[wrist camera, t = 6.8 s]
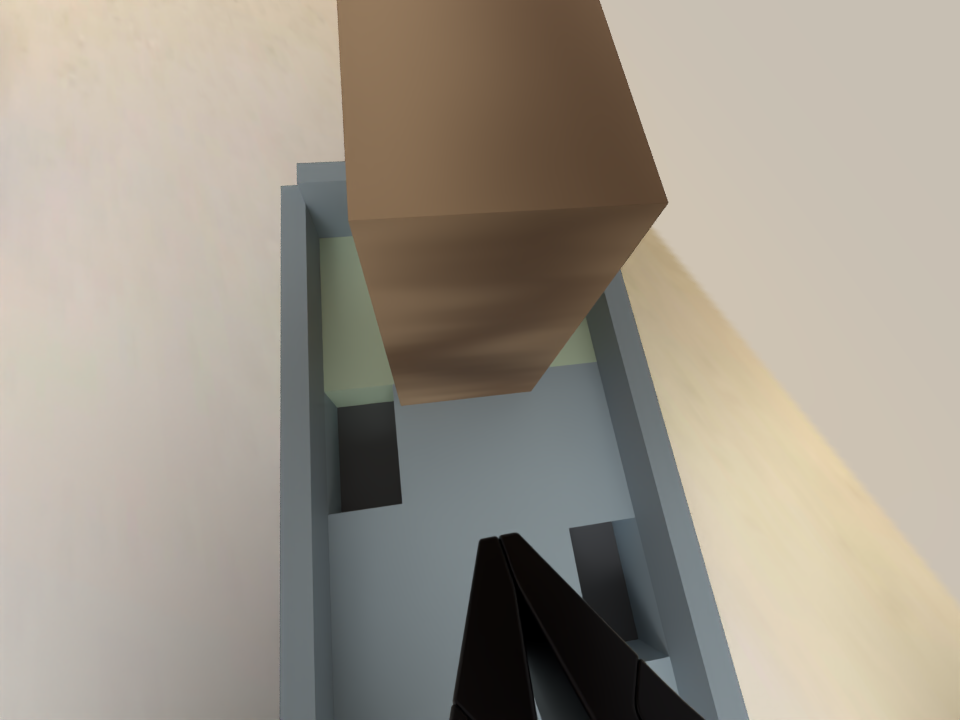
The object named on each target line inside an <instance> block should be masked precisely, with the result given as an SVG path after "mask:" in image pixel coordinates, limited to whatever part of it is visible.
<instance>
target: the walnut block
mask: <svg viewBox="0 0 960 720" xmlns="http://www.w3.org/2000/svg"><path fill="white" fill-rule="evenodd" d="M337 11H338V31H339V50H340V70H341V89H342V109H343V128H344V148H345V167H346V186H347V206H348V221H349V225H350V228H351V232H352V236H353V239H354V243H355V246H356V250H357V253H358V257H359V260H360V264H361V267H362V271H363V274H364V278H365V281H366V285H367V288H368V292H369V295H370V299H371V302H372V306H373V309H374V313H375V317H376V320H377V324H378V327H379V331H380V334H381V338H382V341H383V345H384V348H385V352H386V355H387V359H388V362H389V366H390V369H391V373H392V376H393V380H394V383H395V387H396V390H397V394H398V398H399V401H400V405H401V406H405V405H414V404H423V403H432V402H441V401H450V400H459V399H468V398H477V397H486V396H495V395H503V394H512V393H521V392H530V391H532V389H533V388H534V387H535V385H536V384H537V383H538V381H539V380H540V379H541V377H542V376H543V374H544V373H545V372H546V370H547V369H548V368H549V366H550V365H551V363H552V362H553V361H554V359H555V358H556V357H557V355H558V354H559V352H560V351H561V350H562V348H563V347H564V346H565V344H566V343H567V341H568V340H569V339H570V337H571V336H572V335H573V333H574V332H575V330H576V329H577V328H578V326H579V325H580V324H581V322H582V321H583V319H584V318H585V317H586V315H587V314H588V313H589V311H590V310H591V309H592V307H593V306H594V304H595V303H596V302H597V300H598V299H599V298H600V296H601V295H602V293H603V292H604V291H605V289H606V288H607V287H608V285H609V284H610V282H611V281H612V280H613V278H614V277H615V276H616V274H617V273H618V271H619V270H620V269H621V267H622V266H623V265H624V263H625V262H626V260H627V259H628V258H629V256H630V255H631V254H632V252H633V251H634V249H635V248H636V247H637V245H638V244H639V243H640V241H641V240H642V238H643V237H644V236H645V234H646V233H647V232H648V230H649V229H650V228H651V226H652V225H653V223H654V222H655V221H656V219H657V218H658V217H659V215H660V214H661V212H662V211H663V209H664V208H665V207H666V205H667V204H668V201H667V197H666V194H665V192H664V189H663V186H662V183H661V180H660V177H659V174H658V171H657V168H656V165H655V162H654V159H653V156H652V154H651V150H650V147H649V145H648V142H647V139H646V136H645V133H644V131H643V127H642V124H641V121H640V118H639V115H638V112H637V109H636V106H635V104H634V101H633V98H632V95H631V92H630V89H629V86H628V83H627V80H626V77H625V74H624V71H623V69H622V65H621V62H620V59H619V56H618V54H617V51H616V48H615V45H614V42H613V39H612V36H611V33H610V30H609V27H608V24H607V21H606V18H605V15H604V12H603V10H602V7H601V4H600V1H599V0H337Z"/></svg>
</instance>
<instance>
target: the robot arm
mask: <svg viewBox="0 0 960 720" xmlns="http://www.w3.org/2000/svg"><path fill="white" fill-rule="evenodd" d="M638 659H639V657H638V655H637V654H636V653H635V652H634V650H633V649H632V648H631V647H630V646H629V645H628V644H627V643H626V642H625V641H624V640H623V639H622V638H621V637H620V636H619V635H618V634H617V633H616V632H615V631H614V630H613V629H612V628H611V627H610V626H609V625H608V624H607V623H606V622H605V621H604V620H603V619H602V618H601V617H600V616H599V615H598V614H597V613H596V612H595V611H594V610H593V609H592V608H591V607H590V606H589V605H588V604H587V603H586V602H585V600H584V599H583V598H582V597H581V596H580V595H579V594H578V593H577V592H576V591H575V590H574V589H573V588H572V587H571V586H570V585H569V584H568V583H567V582H566V581H565V580H564V579H563V578H562V577H561V576H560V575H559V574H558V573H557V572H556V571H555V570H554V569H553V568H552V567H551V566H550V565H549V564H548V563H547V562H546V561H545V560H544V559H543V558H542V557H541V556H540V555H539V554H538V553H537V552H536V550H535V549H534V548H533V547H532V546H531V545H530V544H529V543H528V542H527V541H526V540H525V539H524V538H523V537H522V536H521V535H520V534H519V533H516V532H513V533H508V534H503V535H500V536H499V538H498V537H497V536H492V537H487V538H482V539H480V540H479V542H478V548H477V554H476V560H475V566H474V572H473V579H472V585H471V591H470V597H469V603H468V609H467V615H466V621H465V627H464V633H463V640H462V646H461V652H460V658H459V664H458V670H457V676H456V682H455V688H454V694H453V701H452V702H453V705H452V706H451V711H450V717H449V720H538V718H537V712H536V706H535V701H536V704H537V707H538V710H539V713H540V716H541V719H542V720H705V719H704V718H703V717H702V716H701V715H700V714H699V713H697V712H696V711H695V710H694V709H693V708H692V707H691V706H689V705H688V704H687V703H686V702H685V701H684V700H683V699H682V698H681V697H680V696H679V695H678V694H677V693H676V692H675V691H674V690H673V689H671V688H670V687H669V686H668V685H667V684H666V683H665V682H664V681H663V680H662V679H661V678H660V677H659V676H658V675H657V674H656V673H655V672H654V671H653V670H652V669H651V668H650V667H649V666H648V665H647V664H646V662H645V661H644V660H643V659H639V660H638ZM534 698H535V700H534Z"/></svg>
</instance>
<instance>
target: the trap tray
mask: <svg viewBox="0 0 960 720" xmlns="http://www.w3.org/2000/svg"><path fill="white" fill-rule="evenodd" d="M297 184H298V185H293V186H281V427H280V720H449V717H450V711H451V706H452V705H453V702H452V701H453V694H454V688H455V682H456V676H457V670H458V664H459V658H460V652H461V646H462V640H463V633H464V627H465V621H466V615H467V609H468V603H469V597H470V591H471V585H472V579H473V572H474V566H475V560H476V554H477V548H478V542H479V540H480V539H482V538H487V537H492V536H497V537H498V538H499V536H500V535H503V534H508V533H513V532H516V533H519V534H520V535H521V536H522V537H523V538H524V539H525V540H526V541H527V542H528V543H529V544H530V545H531V546H532V547H533V548H534V549H535V550H536V552H537V553H538V554H539V555H540V556H541V557H542V558H543V559H544V560H545V561H546V562H547V563H548V564H549V565H550V566H551V567H552V568H553V569H554V570H555V571H556V572H557V573H558V574H559V575H560V576H561V577H562V578H563V579H564V580H565V581H566V582H567V583H568V584H569V585H570V586H571V587H572V588H573V589H574V590H575V591H576V592H577V593H578V594H579V595H580V596H581V597H582V598H583V599H584V600H585V602H586V603H587V604H588V605H589V606H590V607H591V608H592V609H593V610H594V611H595V612H596V613H597V614H598V615H599V616H600V617H601V618H602V619H603V620H604V621H605V622H606V623H607V624H608V625H609V626H610V627H611V628H612V629H613V630H614V631H615V632H616V633H617V634H618V635H619V636H620V637H621V638H622V639H623V640H624V641H625V642H626V643H627V644H628V645H629V646H630V647H631V648H632V649H633V650H634V652H635V653H636V654H637V655H638V657H639V659H643V660H644V661H645V662H646V664H647V665H648V666H649V667H650V668H651V669H652V670H653V671H654V672H655V673H656V674H657V675H658V676H659V677H660V678H661V679H662V680H663V681H664V682H665V683H666V684H667V685H668V686H669V687H670V688H671V689H673V690H674V691H675V692H676V693H677V694H678V695H679V696H680V697H681V698H682V699H683V700H684V701H685V702H686V703H687V704H688V705H689V706H691V707H692V708H693V709H694V710H695V711H696V712H697V713H699V714H700V715H701V716H702V717H703V718H704V719H705V720H749V717H748V714H747V710H746V707H745V703H744V700H743V696H742V693H741V689H740V686H739V682H738V679H737V675H736V672H735V668H734V665H733V661H732V658H731V654H730V651H729V647H728V644H727V640H726V637H725V633H724V630H723V626H722V623H721V619H720V616H719V612H718V609H717V605H716V602H715V598H714V595H713V591H712V588H711V584H710V581H709V577H708V574H707V570H706V567H705V563H704V560H703V556H702V553H701V549H700V546H699V542H698V539H697V535H696V532H695V528H694V525H693V521H692V518H691V514H690V511H689V507H688V504H687V500H686V497H685V493H684V490H683V486H682V483H681V479H680V476H679V472H678V469H677V465H676V462H675V458H674V455H673V451H672V448H671V444H670V441H669V437H668V434H667V430H666V427H665V424H664V420H663V417H662V413H661V410H660V406H659V403H658V399H657V396H656V392H655V389H654V385H653V382H652V378H651V375H650V371H649V368H648V364H647V361H646V357H645V354H644V350H643V347H642V343H641V340H640V336H639V333H638V329H637V326H636V322H635V319H634V315H633V312H632V308H631V305H630V301H629V298H628V294H627V291H626V287H625V284H624V280H623V277H622V273H621V270H619V271H618V273H617V274H616V276H615V277H614V278H613V280H612V281H611V282H610V284H609V285H608V287H607V288H606V289H605V291H604V292H603V293H602V295H601V296H600V298H599V299H598V300H597V302H596V303H595V304H594V306H593V307H592V309H591V310H590V311H589V313H588V314H587V315H586V317H585V318H584V319H583V321H582V322H581V324H580V325H579V326H578V328H577V329H576V330H575V332H574V333H573V335H572V336H571V337H570V339H569V340H568V341H567V343H566V344H565V346H564V347H563V348H562V350H561V351H560V352H559V354H558V355H557V357H556V358H555V359H554V361H553V362H552V363H551V365H550V366H549V368H548V369H547V370H546V372H545V373H544V374H543V376H542V377H541V379H540V380H539V381H538V383H537V384H536V385H535V387H534V388H533V389H532V391H530V392H521V393H512V394H503V395H495V396H486V397H477V398H468V399H459V400H450V401H441V402H432V403H423V404H414V405H405V406H401V405H400V401H399V398H398V394H397V390H396V387H395V383H394V380H393V376H392V373H391V369H390V366H389V362H388V359H387V355H386V352H385V348H384V345H383V341H382V338H381V334H380V331H379V327H378V324H377V320H376V317H375V313H374V309H373V306H372V302H371V299H370V295H369V292H368V288H367V285H366V281H365V278H364V274H363V271H362V267H361V264H360V260H359V257H358V253H357V250H356V246H355V243H354V239H353V236H352V232H351V228H350V225H349V221H348V206H347V186H346V167H345V161H342V162H318V163H297ZM639 659H638V660H639ZM534 700H535V698H534ZM535 706H536V712H537V718H538V720H542V719H541V716H540V713H539V710H538V707H537V704H536V701H535Z"/></svg>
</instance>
